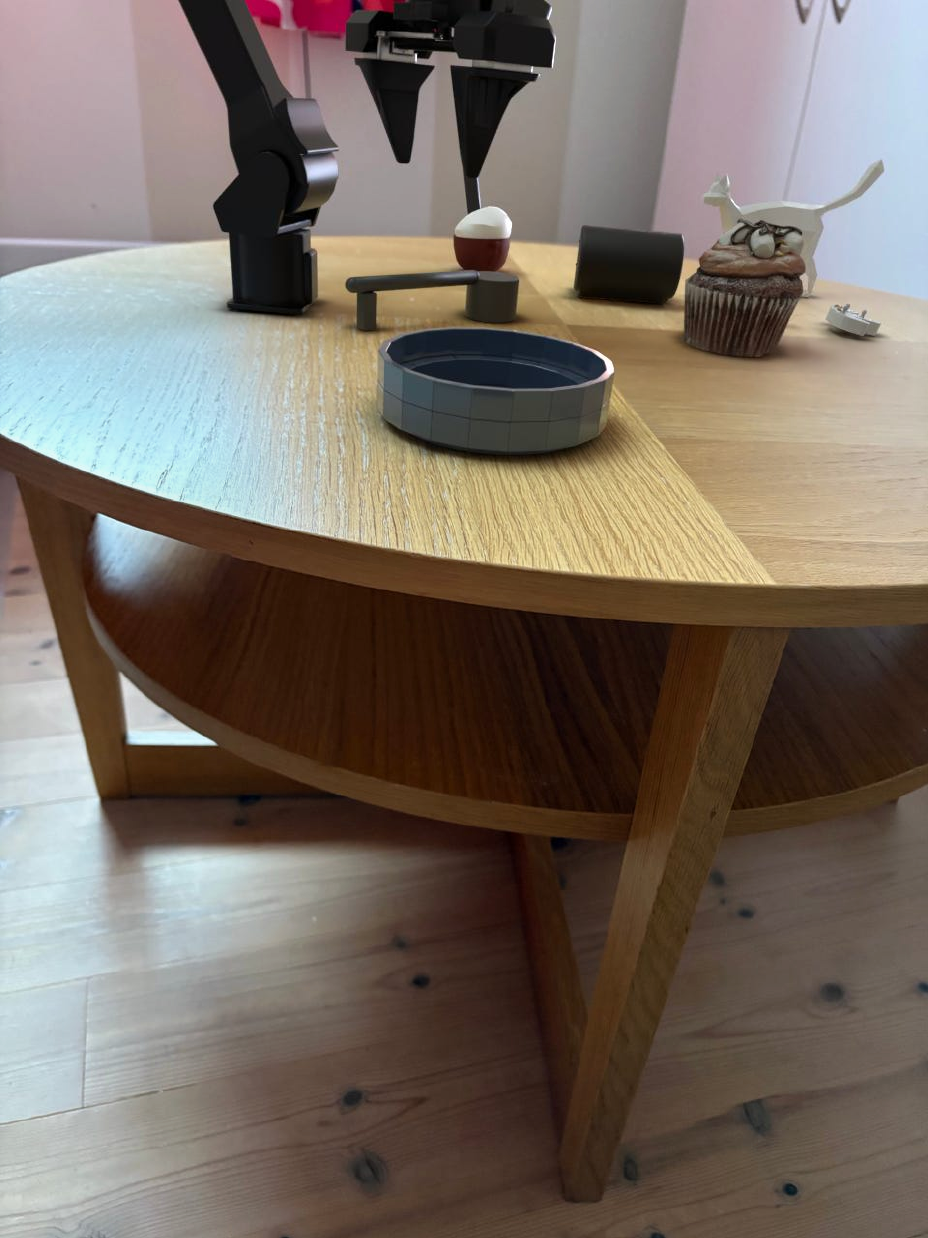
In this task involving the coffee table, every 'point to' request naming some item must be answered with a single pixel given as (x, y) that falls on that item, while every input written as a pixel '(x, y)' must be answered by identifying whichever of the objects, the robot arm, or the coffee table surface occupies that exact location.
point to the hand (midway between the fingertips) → (435, 170)
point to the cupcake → (745, 290)
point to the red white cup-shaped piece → (481, 233)
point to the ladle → (484, 295)
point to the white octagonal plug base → (851, 320)
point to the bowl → (493, 389)
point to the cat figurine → (787, 213)
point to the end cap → (628, 264)
